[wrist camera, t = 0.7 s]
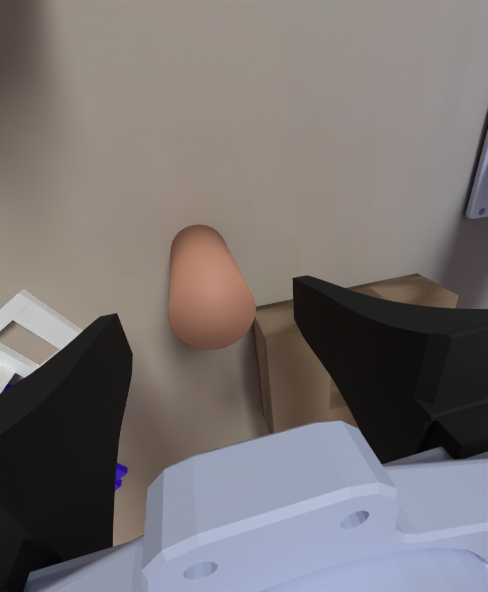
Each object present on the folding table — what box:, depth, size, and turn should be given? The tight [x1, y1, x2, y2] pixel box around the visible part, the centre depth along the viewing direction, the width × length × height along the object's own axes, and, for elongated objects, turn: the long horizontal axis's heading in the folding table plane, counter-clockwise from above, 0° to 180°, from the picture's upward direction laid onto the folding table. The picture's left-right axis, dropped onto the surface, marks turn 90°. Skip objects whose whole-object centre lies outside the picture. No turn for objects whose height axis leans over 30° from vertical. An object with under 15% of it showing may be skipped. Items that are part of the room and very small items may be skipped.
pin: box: [169, 225, 256, 350], centre depth 15 cm, size 4×4×8 cm
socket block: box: [253, 274, 459, 434], centre depth 24 cm, size 14×12×4 cm
